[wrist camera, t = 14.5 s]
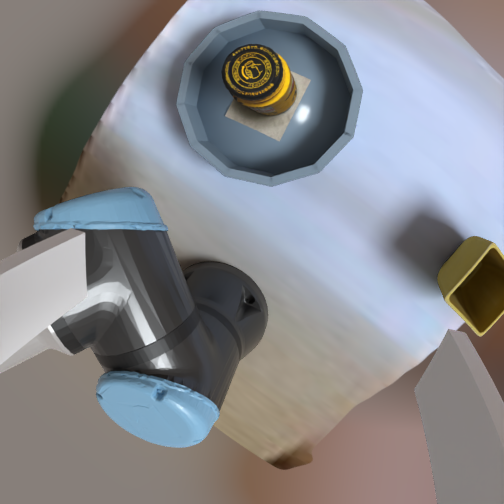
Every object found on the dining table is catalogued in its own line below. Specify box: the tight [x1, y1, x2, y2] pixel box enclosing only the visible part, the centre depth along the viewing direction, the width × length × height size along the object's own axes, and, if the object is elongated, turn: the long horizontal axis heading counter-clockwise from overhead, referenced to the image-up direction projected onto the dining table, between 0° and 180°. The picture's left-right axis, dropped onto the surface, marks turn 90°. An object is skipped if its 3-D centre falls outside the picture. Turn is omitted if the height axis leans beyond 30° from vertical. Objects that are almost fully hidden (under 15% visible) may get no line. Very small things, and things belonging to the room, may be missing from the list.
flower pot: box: [437, 236, 504, 336], centre depth 33 cm, size 9×9×9 cm
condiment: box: [221, 44, 311, 142], centre depth 29 cm, size 7×8×12 cm
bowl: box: [176, 11, 363, 187], centre depth 33 cm, size 20×20×5 cm
